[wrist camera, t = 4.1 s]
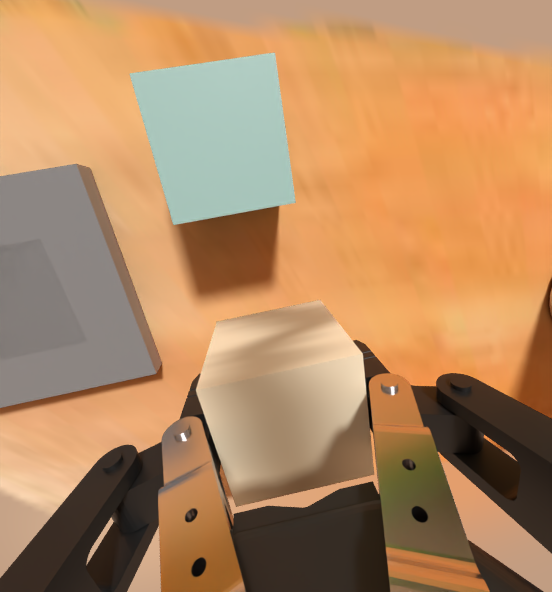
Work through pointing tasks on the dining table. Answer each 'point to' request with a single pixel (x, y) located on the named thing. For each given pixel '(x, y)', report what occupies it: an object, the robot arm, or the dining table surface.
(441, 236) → the dining table surface
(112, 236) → the plate
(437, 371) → the dining table surface
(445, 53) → the dining table surface
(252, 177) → the block teal
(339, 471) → the block birch
